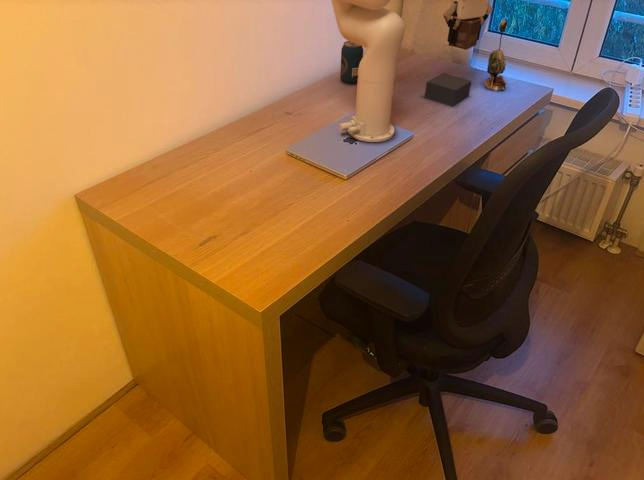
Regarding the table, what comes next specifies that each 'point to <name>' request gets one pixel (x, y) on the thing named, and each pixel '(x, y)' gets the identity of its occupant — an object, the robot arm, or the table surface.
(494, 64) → the plant with pod
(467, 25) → the box
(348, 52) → the soda can
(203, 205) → the table surface
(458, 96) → the block
